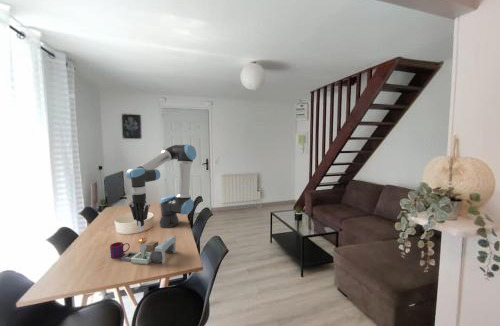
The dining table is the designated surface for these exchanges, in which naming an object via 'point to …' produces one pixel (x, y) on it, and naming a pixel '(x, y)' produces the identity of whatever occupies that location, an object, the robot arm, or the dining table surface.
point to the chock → (151, 246)
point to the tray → (141, 261)
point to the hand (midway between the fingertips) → (140, 230)
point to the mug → (117, 249)
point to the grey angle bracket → (163, 250)
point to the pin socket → (126, 257)
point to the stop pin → (143, 248)
